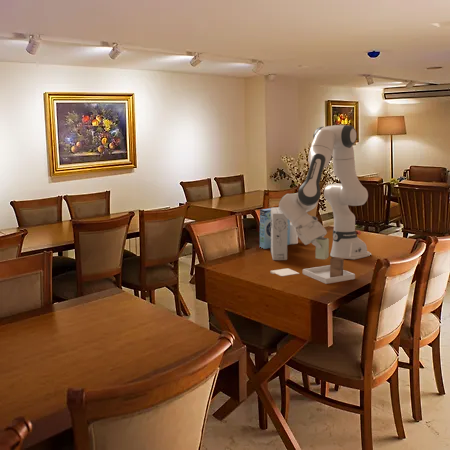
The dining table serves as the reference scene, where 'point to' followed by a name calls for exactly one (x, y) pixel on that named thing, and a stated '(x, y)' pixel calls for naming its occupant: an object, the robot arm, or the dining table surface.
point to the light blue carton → (268, 229)
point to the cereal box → (278, 234)
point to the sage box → (324, 251)
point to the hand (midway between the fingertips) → (323, 246)
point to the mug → (293, 235)
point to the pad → (284, 272)
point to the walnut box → (336, 266)
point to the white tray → (327, 274)
